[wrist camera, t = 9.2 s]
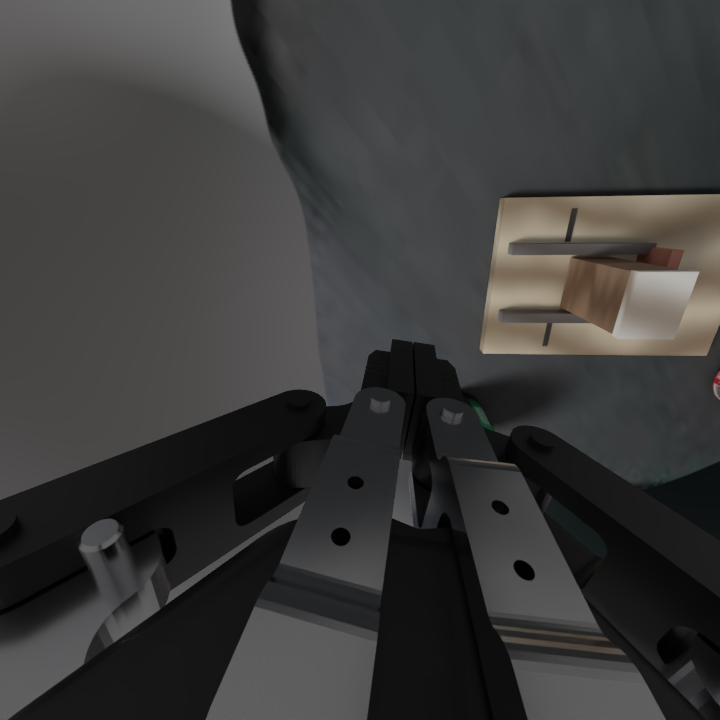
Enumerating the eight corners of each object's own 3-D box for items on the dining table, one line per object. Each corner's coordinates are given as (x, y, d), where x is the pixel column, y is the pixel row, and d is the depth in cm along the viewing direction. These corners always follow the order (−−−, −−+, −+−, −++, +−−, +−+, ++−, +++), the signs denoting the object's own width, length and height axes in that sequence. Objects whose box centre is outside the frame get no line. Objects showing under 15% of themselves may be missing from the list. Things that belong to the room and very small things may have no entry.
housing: (500, 198, 33) (521, 195, 28) (758, 194, 32) (829, 190, 27) (479, 348, 40) (493, 368, 35) (694, 350, 38) (742, 371, 33)
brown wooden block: (569, 256, 33) (638, 271, 25) (613, 256, 33) (699, 271, 24) (558, 307, 36) (618, 339, 27) (599, 307, 35) (674, 339, 26)
